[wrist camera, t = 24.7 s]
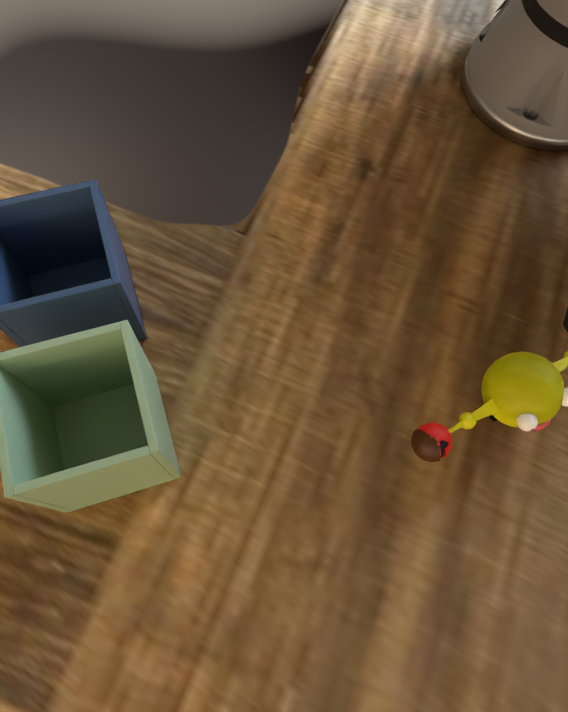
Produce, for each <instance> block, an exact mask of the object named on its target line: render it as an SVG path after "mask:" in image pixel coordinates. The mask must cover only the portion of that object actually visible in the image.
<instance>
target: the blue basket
mask: <svg viewBox="0 0 568 712" xmlns="http://www.w3.org/2000/svg"><path fill="white" fill-rule="evenodd" d="M124 320H128V322H129V324H130V326H131V328H132V330H133V332H134V334H135V336H136V337H137V339H138V340H142V339H146V338H147V336H146V332H145V328H144V324H143V320H142V316H141V312H140V308H139V304H138V300H137V296H136V292H135V288H134V284H133V280H132V277H131V273H130V269H129V265H128V261H127V257H126V253H125V250H124V248H123V245H122V243H121V240H120V238H119V235H118V233H117V230H116V228H115V226H114V223H113V221H112V218H111V216H110V213H109V211H108V208H107V206H106V204H105V201H104V199H103V196H102V194H101V191H100V189H99V186H98V184H97V182H96V180H90V181H86V182H81V183H76V184H72V185H67V186H63V187H58V188H53V189H49V190H44V191H39V192H35V193H30V194H25V195H21V196H16V197H11V198H7V199H2V200H0V329H1V330H2V331H3V332H4V333H5V334H6V335H7V336H9V337H10V338H11V339H12V340H13V341H14V342H15V343H16V344H17V345H18V346H19V347H23V346H27V345H31V344H35V343H39V342H42V341H46V340H50V339H54V338H58V337H62V336H66V335H70V334H74V333H77V332H81V331H85V330H89V329H93V328H97V327H101V326H105V325H108V324H112V323H116V322H120V321H124Z"/></svg>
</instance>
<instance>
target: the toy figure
mask: <svg viewBox="0 0 568 712" xmlns="http://www.w3.org/2000/svg"><path fill="white" fill-rule="evenodd" d="M566 367H568V351H567V352H565V353H564V355H563V359H561V360H559V361H557V362H554V363H551V362H550V361H548V360H547V359H545V358H544V357H542V356H539V355H537V354H533V353H529V352H516V353H510V354H507V355H505V356H503V357H501V358H499V359H497V360H496V361H495V362H493V363H492V365H491V366H490V367H489V368H488V369H487V371H486V373H485V375H484V377H483V381H482V386H481V392H482V398H483V401H484V404H483V405H482V406H481V407H480V408H478V409H477V410H476V411H474V412H473V413H469V412H465V413H462V414H461V415H460V416H459V419H458V421H459V423H458V424H456V425H455V426H453V427H452V428H450V429H449V430H448V429H447V428H446V427H444V426H443V425H441V424H438V423H427V424H424V425H422V426H420V427H419V428H418V429H416V430H415V431H414V432H413V435H412V439H411V444H412V448H413V450H414V452H415V454H416V455H417V456H418V457H419V458H421V459H423V460H425V461H428V462H438V461H440V459H441V458H443V457H445V456H446V455H447V454H448V453H449V452H450V450H451V447H452V436H451V434H450V433H452V432H454V431H455V430H457V429H459V428H464V429H471V428H473V427H474V426H475V424H476V421H478V420H480V419H482V418H485V417H487V416H488V417H489V418H490V419H491V420H493V421H494V422H495V421H497V420H499V421H500V422H502V423H504V424H506V425H509V426H512V427H517V428H520V429H521V430H523V431H539V430H541V429H543V428H544V427H546V426H548V425H549V423H550V421H551V418H553V417H554V416H555V415H556V413H557V412H558V410H559V409H560V407H561V405H563V406H568V388H564V382H563V379H562V377H561V374H560V373H561V372H562V371H563V370H564V369H565V368H566Z"/></svg>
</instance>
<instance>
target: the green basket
mask: <svg viewBox="0 0 568 712" xmlns="http://www.w3.org/2000/svg"><path fill="white" fill-rule="evenodd" d="M0 470H1V477H2V484H3V491H4V497H5V498H9V499H13V500H17V501H21V502H25V503H30V504H34V505H38V506H42V507H46V508H50V509H54V510H58V511H62V512H66V513H68V512H71V511H75V510H78V509H81V508H84V507H88V506H91V505H94V504H97V503H101V502H104V501H107V500H110V499H113V498H117V497H120V496H123V495H126V494H130V493H133V492H136V491H139V490H143V489H146V488H149V487H152V486H156V485H159V484H162V483H165V482H168V481H172V480H175V479H178V478H181V477H182V476H181V472H180V468H179V464H178V461H177V457H176V453H175V449H174V445H173V441H172V437H171V433H170V429H169V425H168V421H167V417H166V413H165V409H164V405H163V401H162V397H161V393H160V389H159V386H158V382H157V378H156V374H155V372H154V370H153V368H152V366H151V365H150V363H149V361H148V359H147V357H146V355H145V353H144V351H143V349H142V347H141V345H140V343H139V341H138V339H137V337H136V336H135V334H134V332H133V330H132V328H131V326H130V324H129V322H128V320H124V321H120V322H116V323H112V324H108V325H105V326H101V327H97V328H93V329H89V330H85V331H81V332H77V333H74V334H70V335H66V336H62V337H58V338H54V339H50V340H46V341H42V342H39V343H35V344H31V345H27V346H23V347H19V348H15V349H11V350H8V351H4V352H0Z"/></svg>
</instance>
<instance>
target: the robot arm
mask: <svg viewBox="0 0 568 712" xmlns="http://www.w3.org/2000/svg"><path fill="white" fill-rule="evenodd" d="M501 8H502V9H501ZM500 9H501V10H500ZM498 10H500V11H499V12H498V13H497V15H496V16H495V17H494V18H493V20H492V21H491V22H490V23H489V24H488V25H487V26H486V27H485V28H484V29H483V30H482V32H481V33H480V34H479V35H478V37H477V38H476V39H475V41H474V43H473V44H472V46H471V49H470V51H469V53H468V55H467V58H466V60H465V62H464V66H463V70H462V85H463V89H464V93H465V95H466V98H467V100H468V102H469V104H470V105H471V107H472V109H473V110H474V111H475V113H476V114H477V115H478V116H479V117H480V118H481V120H483V121H484V122H485V123H486V124H487V125H488V126H489V127H491V128H492V129H493V130H494V131H496V132H497V133H499V134H500V135H502V136H504V137H506V138H508V139H510V140H512V141H514V142H516V143H519V144H522V145H525V146H528V147H532V148H536V149H542V150H552V151H562V150H568V0H506V1H504V3H503V4H502V5H501V6H500V7H499V8H498V9H497V11H498ZM497 11H496V12H497ZM563 327H564V328H565V329H566V331H567V332H568V308H567V312H566V315H565V319H564V322H563Z"/></svg>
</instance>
